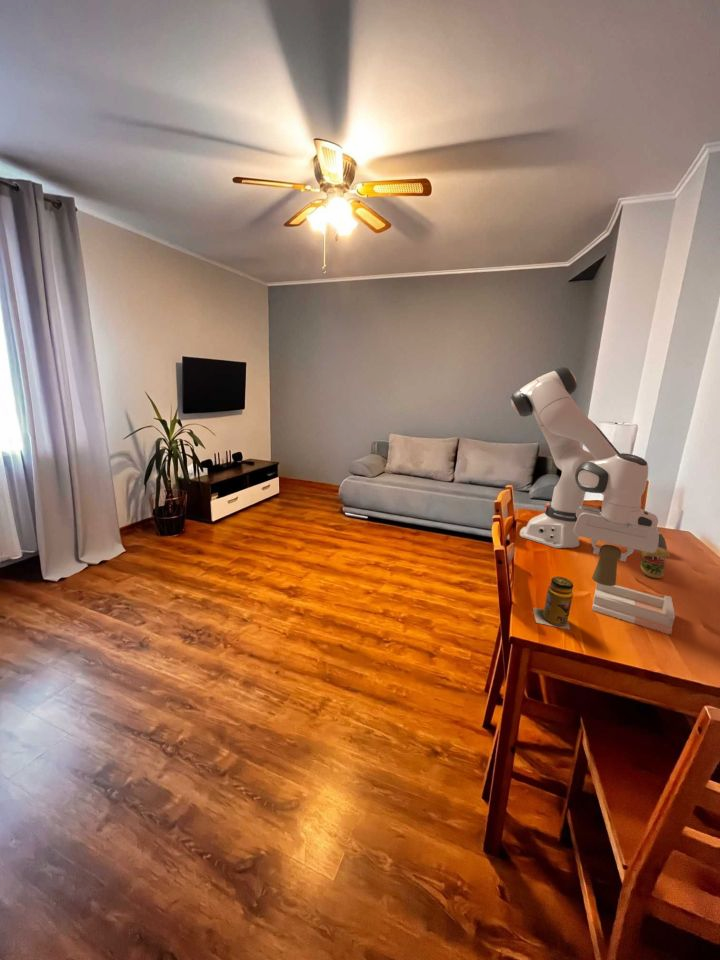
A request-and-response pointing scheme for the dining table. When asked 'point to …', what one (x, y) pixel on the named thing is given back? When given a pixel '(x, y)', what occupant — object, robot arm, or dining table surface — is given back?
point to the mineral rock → (662, 541)
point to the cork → (607, 565)
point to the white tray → (635, 607)
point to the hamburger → (654, 562)
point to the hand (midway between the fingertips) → (609, 556)
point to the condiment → (556, 604)
